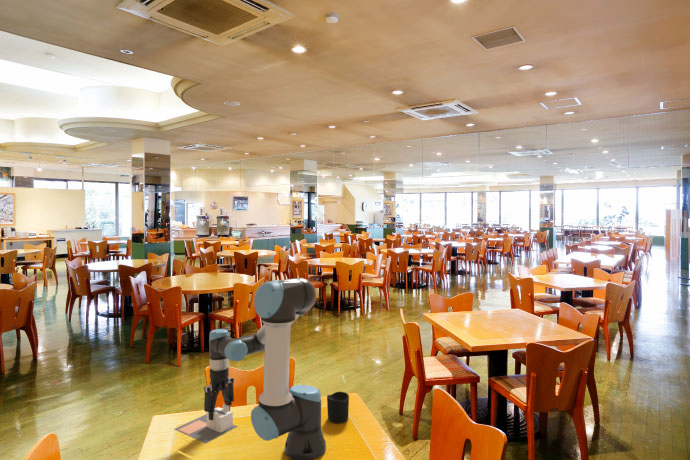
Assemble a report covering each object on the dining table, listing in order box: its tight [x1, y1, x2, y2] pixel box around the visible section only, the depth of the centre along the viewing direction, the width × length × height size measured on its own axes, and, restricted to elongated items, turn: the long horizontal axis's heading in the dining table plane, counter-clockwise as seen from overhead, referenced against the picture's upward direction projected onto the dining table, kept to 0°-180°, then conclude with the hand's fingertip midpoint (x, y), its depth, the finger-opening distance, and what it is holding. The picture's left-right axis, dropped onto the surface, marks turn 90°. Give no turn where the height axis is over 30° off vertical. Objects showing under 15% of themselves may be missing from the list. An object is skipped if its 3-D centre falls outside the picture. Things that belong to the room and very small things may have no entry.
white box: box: [205, 406, 234, 433], centre depth 172 cm, size 9×6×6 cm, turn 56°
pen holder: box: [326, 391, 350, 424], centre depth 180 cm, size 9×9×10 cm
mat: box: [174, 414, 239, 444], centre depth 172 cm, size 20×16×1 cm
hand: (219, 423), depth 172 cm, fingers closed on white box, 6 cm apart
